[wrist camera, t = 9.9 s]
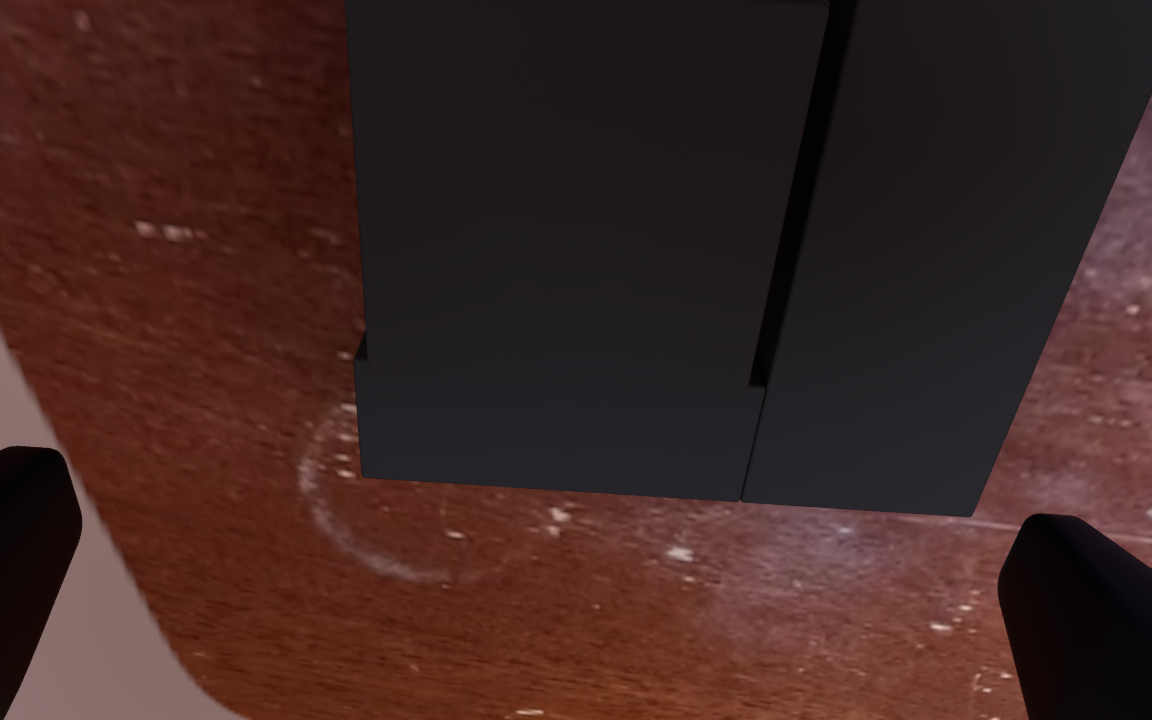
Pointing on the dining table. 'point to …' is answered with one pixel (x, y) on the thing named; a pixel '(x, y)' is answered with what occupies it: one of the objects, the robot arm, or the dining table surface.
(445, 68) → the small pad
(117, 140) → the dining table surface
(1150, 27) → the big pad
